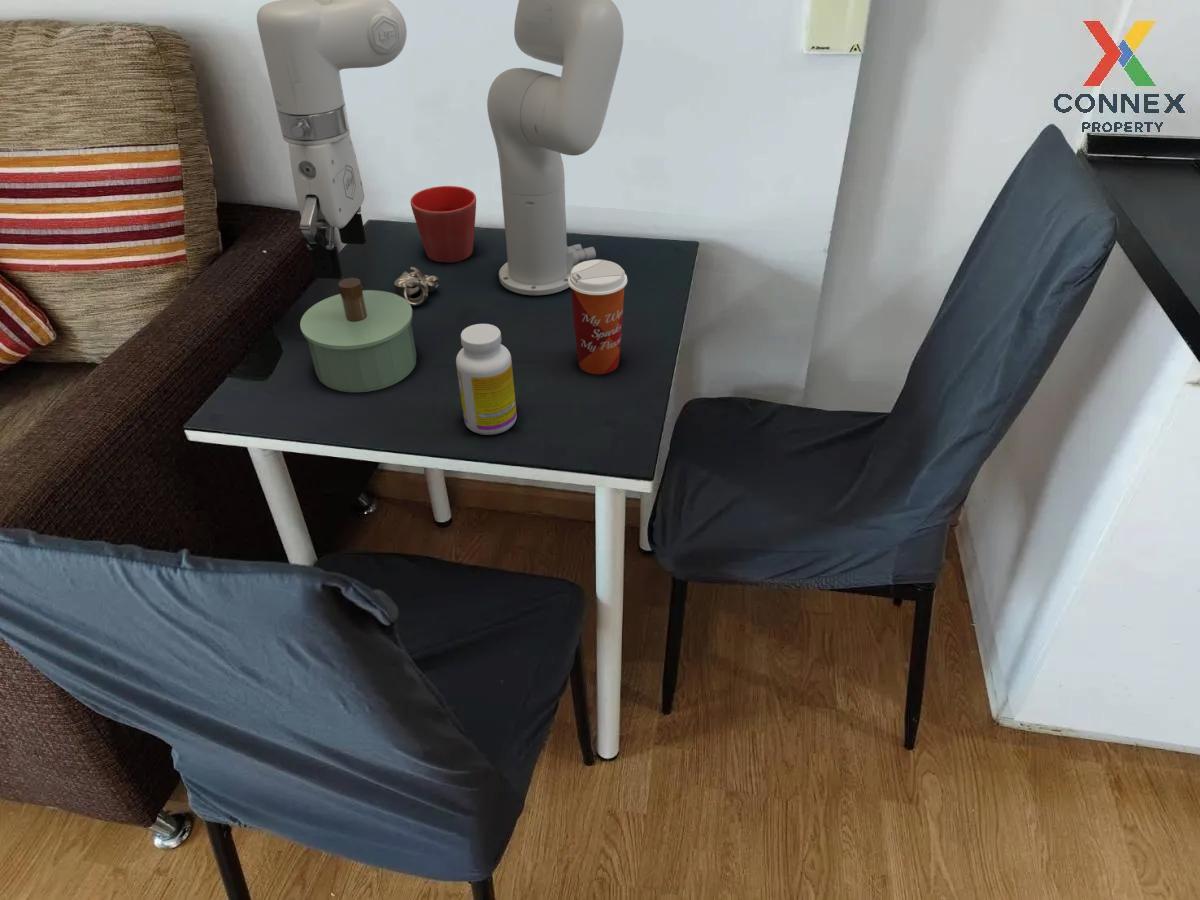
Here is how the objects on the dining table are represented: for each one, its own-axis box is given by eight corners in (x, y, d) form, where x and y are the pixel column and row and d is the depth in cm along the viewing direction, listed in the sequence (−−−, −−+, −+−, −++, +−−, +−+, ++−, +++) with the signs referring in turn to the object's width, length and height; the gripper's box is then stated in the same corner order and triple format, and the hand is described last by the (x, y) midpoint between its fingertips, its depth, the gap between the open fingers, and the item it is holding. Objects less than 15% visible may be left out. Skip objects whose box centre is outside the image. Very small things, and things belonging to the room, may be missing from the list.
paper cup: (586, 384, 115) (584, 290, 106) (561, 357, 120) (557, 265, 111) (637, 369, 118) (639, 276, 109) (611, 343, 123) (610, 252, 114)
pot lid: (360, 288, 123) (352, 247, 119) (436, 316, 117) (429, 275, 113) (278, 332, 114) (266, 290, 110) (355, 365, 107) (345, 322, 103)
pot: (368, 329, 127) (359, 286, 122) (436, 357, 121) (430, 313, 116) (295, 372, 118) (283, 327, 114) (364, 404, 112) (354, 358, 108)
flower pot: (492, 243, 149) (487, 189, 142) (464, 271, 141) (457, 215, 134) (437, 235, 151) (430, 181, 145) (406, 262, 143) (397, 206, 137)
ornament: (445, 303, 132) (442, 282, 130) (400, 311, 131) (397, 289, 128) (435, 280, 138) (432, 259, 136) (392, 287, 137) (389, 266, 134)
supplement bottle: (528, 419, 109) (521, 331, 101) (490, 444, 105) (479, 355, 97) (491, 399, 112) (482, 313, 104) (453, 423, 109) (440, 335, 100)
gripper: (321, 148, 91) (350, 293, 102) (368, 100, 105) (389, 232, 116) (252, 147, 92) (288, 291, 103) (308, 98, 105) (335, 230, 116)
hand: (342, 259), depth 109 cm, fingers open, 9 cm apart
